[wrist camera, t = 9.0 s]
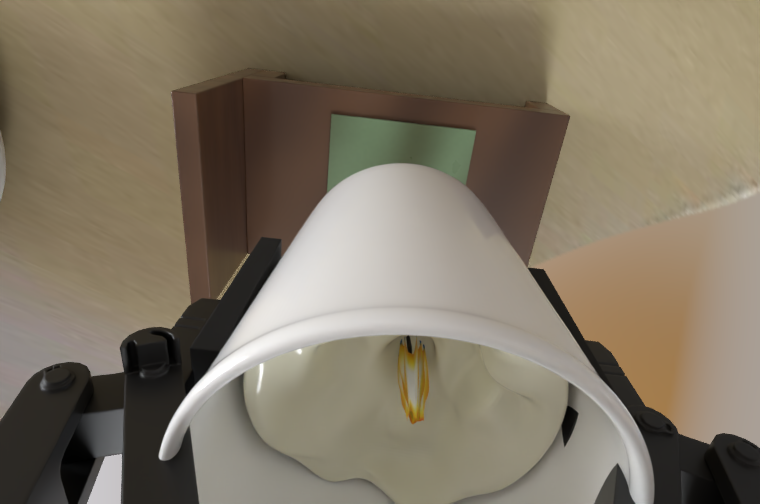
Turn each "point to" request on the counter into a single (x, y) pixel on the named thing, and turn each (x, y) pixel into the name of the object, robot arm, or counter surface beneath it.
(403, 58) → the counter surface
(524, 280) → the candle holder
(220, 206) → the wooden display stand
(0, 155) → the serving bowl
